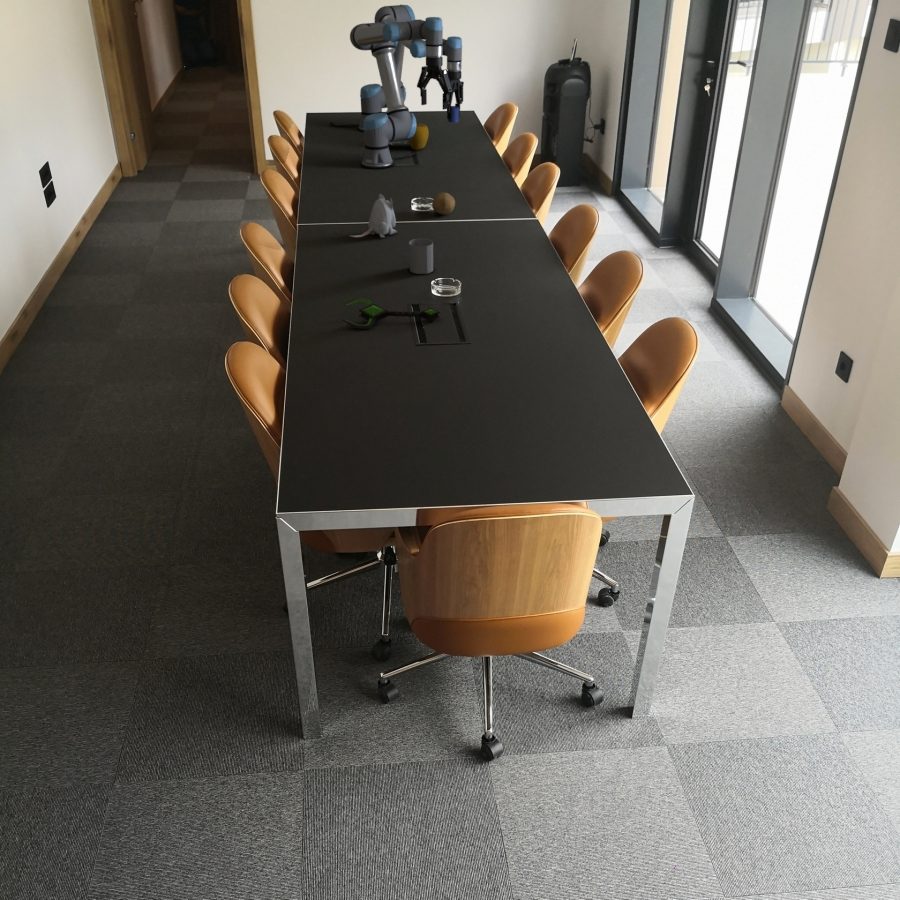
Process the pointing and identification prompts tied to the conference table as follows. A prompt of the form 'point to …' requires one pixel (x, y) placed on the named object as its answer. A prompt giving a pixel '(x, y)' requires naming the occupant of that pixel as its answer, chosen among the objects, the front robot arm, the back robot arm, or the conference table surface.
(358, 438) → the conference table surface
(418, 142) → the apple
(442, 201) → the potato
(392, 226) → the toy
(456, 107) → the canister
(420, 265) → the cup
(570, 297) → the conference table surface
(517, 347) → the conference table surface
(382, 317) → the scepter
